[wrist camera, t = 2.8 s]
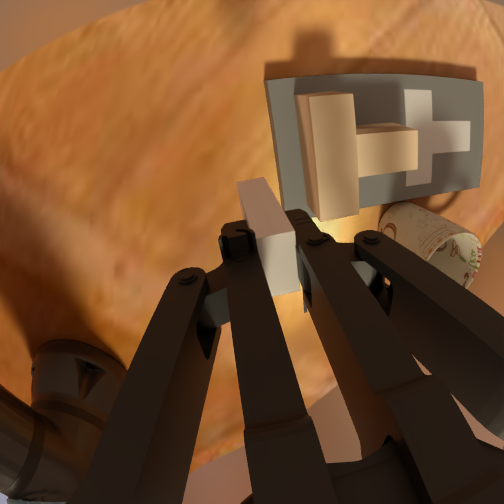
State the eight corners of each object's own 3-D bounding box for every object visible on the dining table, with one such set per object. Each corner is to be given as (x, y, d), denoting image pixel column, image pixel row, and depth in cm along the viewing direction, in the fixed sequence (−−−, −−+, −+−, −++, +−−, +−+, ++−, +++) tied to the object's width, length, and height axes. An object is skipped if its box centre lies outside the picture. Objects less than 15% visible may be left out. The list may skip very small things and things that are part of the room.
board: (282, 216, 31) (286, 222, 30) (263, 80, 24) (267, 80, 23) (471, 182, 32) (479, 187, 31) (474, 80, 25) (482, 81, 24)
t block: (305, 203, 29) (320, 221, 25) (293, 94, 24) (308, 96, 20) (394, 188, 29) (415, 203, 26) (391, 89, 24) (416, 92, 21)
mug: (373, 191, 31) (429, 235, 22) (457, 190, 32) (513, 226, 24) (363, 260, 35) (406, 316, 27) (443, 250, 37) (490, 293, 28)
